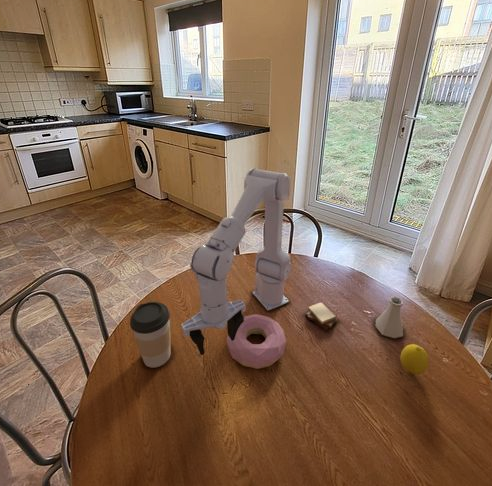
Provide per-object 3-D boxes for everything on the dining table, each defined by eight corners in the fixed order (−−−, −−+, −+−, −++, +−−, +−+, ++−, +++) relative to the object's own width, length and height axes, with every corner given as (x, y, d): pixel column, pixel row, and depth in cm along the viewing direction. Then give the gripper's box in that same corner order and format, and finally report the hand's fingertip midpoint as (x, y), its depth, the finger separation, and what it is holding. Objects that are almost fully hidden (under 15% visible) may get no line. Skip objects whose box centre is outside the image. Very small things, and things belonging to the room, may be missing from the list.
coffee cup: (182, 347, 76) (176, 303, 70) (159, 377, 69) (150, 330, 63) (155, 336, 80) (147, 293, 74) (130, 363, 72) (119, 317, 66)
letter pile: (302, 316, 86) (303, 310, 85) (317, 306, 90) (318, 300, 89) (325, 334, 80) (326, 327, 79) (340, 321, 84) (341, 315, 83)
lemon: (420, 364, 71) (429, 341, 68) (425, 385, 67) (434, 361, 63) (395, 358, 73) (403, 334, 70) (398, 377, 68) (406, 353, 65)
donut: (215, 353, 75) (214, 338, 73) (247, 316, 86) (247, 303, 84) (267, 385, 67) (268, 370, 65) (295, 340, 78) (297, 326, 76)
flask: (397, 319, 85) (405, 292, 80) (407, 339, 78) (416, 311, 74) (371, 317, 85) (377, 290, 81) (379, 337, 79) (387, 309, 74)
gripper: (187, 323, 55) (193, 372, 61) (252, 297, 62) (252, 343, 67) (175, 301, 61) (181, 347, 66) (236, 279, 67) (237, 323, 73)
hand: (216, 344), depth 67 cm, fingers open, 7 cm apart
